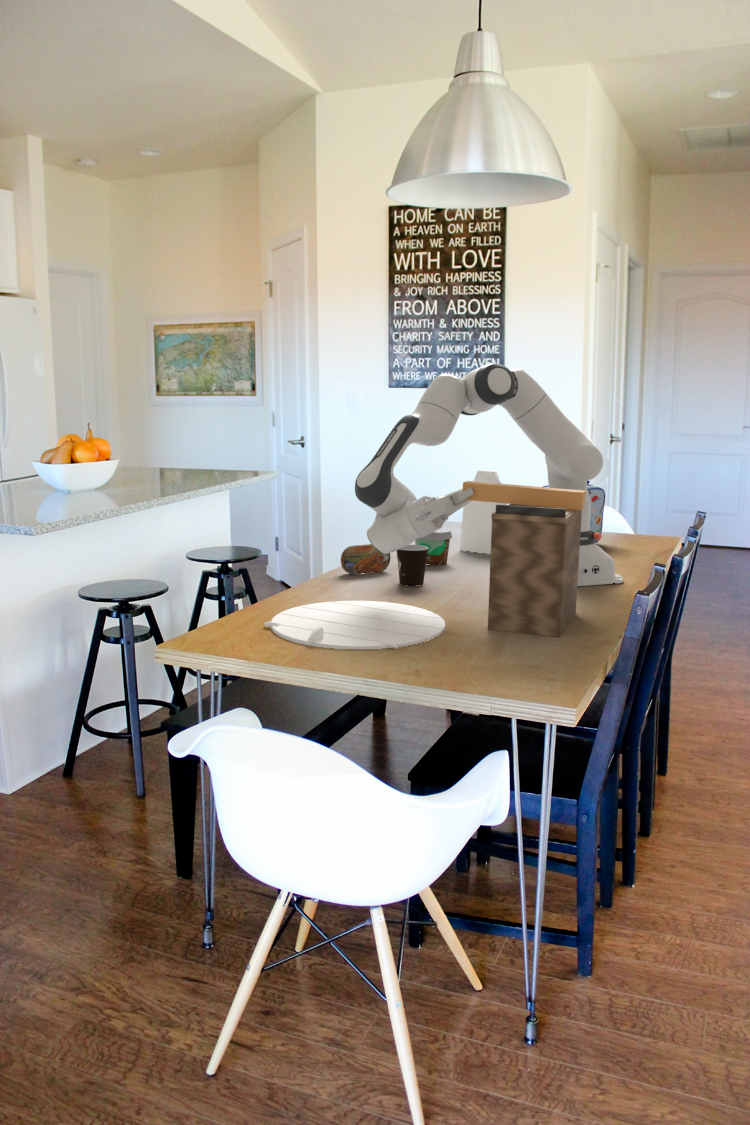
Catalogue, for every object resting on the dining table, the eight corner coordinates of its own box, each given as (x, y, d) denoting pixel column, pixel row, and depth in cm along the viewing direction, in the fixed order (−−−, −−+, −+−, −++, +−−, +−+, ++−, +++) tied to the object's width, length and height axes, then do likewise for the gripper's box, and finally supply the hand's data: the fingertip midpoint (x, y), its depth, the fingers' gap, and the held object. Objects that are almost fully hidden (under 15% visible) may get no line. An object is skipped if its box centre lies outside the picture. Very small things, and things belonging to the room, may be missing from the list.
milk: (508, 549, 301) (511, 470, 296) (493, 554, 292) (496, 473, 287) (475, 545, 308) (478, 468, 302) (459, 550, 298) (462, 470, 293)
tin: (343, 576, 257) (343, 546, 255) (338, 574, 260) (339, 545, 258) (390, 572, 264) (391, 543, 262) (385, 569, 267) (386, 541, 265)
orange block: (461, 499, 216) (462, 482, 215) (466, 497, 220) (467, 481, 219) (581, 510, 206) (583, 492, 206) (584, 508, 210) (585, 490, 209)
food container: (406, 564, 275) (406, 531, 273) (413, 560, 281) (413, 528, 279) (445, 567, 271) (446, 534, 269) (451, 564, 276) (452, 531, 274)
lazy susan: (391, 663, 180) (391, 646, 179) (232, 634, 198) (232, 619, 198) (472, 619, 214) (473, 605, 213) (330, 598, 233) (330, 585, 232)
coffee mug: (424, 588, 244) (425, 551, 242) (393, 586, 245) (393, 549, 243) (431, 579, 255) (431, 543, 253) (400, 577, 256) (401, 542, 254)
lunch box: (585, 539, 322) (589, 477, 318) (607, 544, 313) (611, 480, 309) (527, 546, 307) (530, 481, 303) (548, 551, 299) (552, 484, 294)
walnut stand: (487, 629, 204) (491, 505, 198) (510, 606, 225) (515, 494, 219) (559, 637, 198) (566, 510, 193) (576, 613, 219) (582, 497, 214)
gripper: (407, 508, 213) (457, 481, 207) (433, 498, 231) (480, 473, 226) (419, 533, 212) (470, 506, 207) (445, 520, 231) (492, 496, 226)
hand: (476, 489), depth 216 cm, fingers closed on orange block, 4 cm apart
